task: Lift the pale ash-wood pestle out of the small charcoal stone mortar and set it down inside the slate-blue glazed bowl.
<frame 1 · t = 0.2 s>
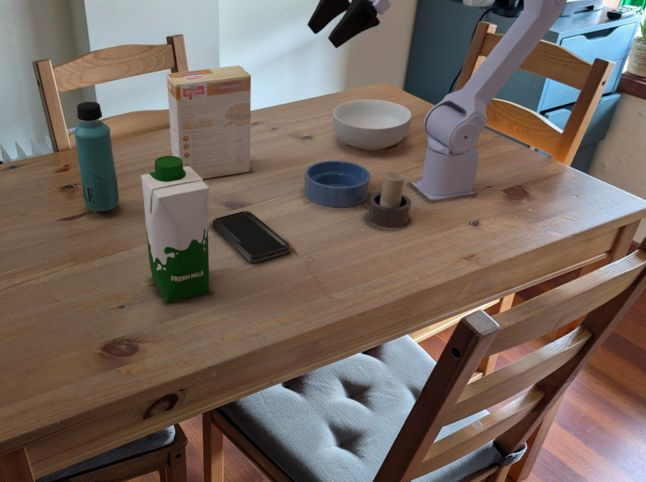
hand: (321, 36, 108), 31 cm above the table, tool tilted 45°, fingers open, 7 cm apart
beverage bottle: (103, 211, 129), on the table
coffeecake box: (210, 171, 142), on the table
mortar: (387, 220, 125), on the table
phone: (249, 239, 120), on the table
pestle: (387, 217, 124), point 1 cm above the table, touching mortar
cereal bowl: (368, 144, 152), on the table
bowl: (335, 195, 133), on the table
milk carton: (180, 287, 109), on the table
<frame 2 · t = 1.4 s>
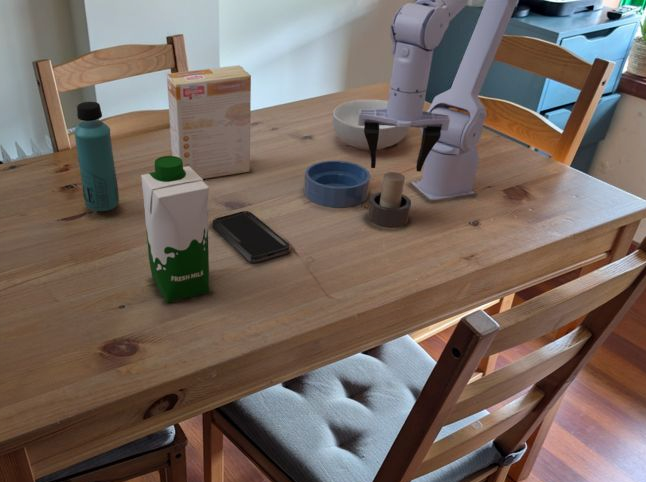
hand: (395, 167, 118), 10 cm above the table, tool pointing down, fingers open, 7 cm apart
nothing on the table moved.
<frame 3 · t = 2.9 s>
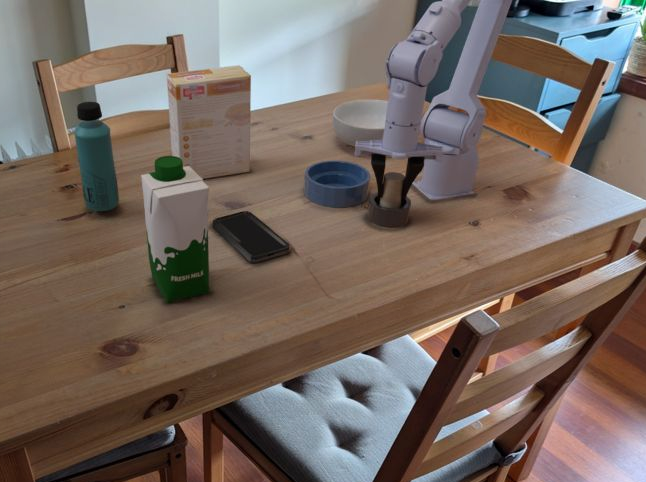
hand: (391, 195, 122), 5 cm above the table, tool pointing down, fingers closed on pestle, 3 cm apart
pestle: (387, 217, 124), point 1 cm above the table, touching gripper, mortar
everything else where it was.
when the fingers open (5 cm above the table, at t = 7.2 s): pestle stays where it is, resting on bowl.
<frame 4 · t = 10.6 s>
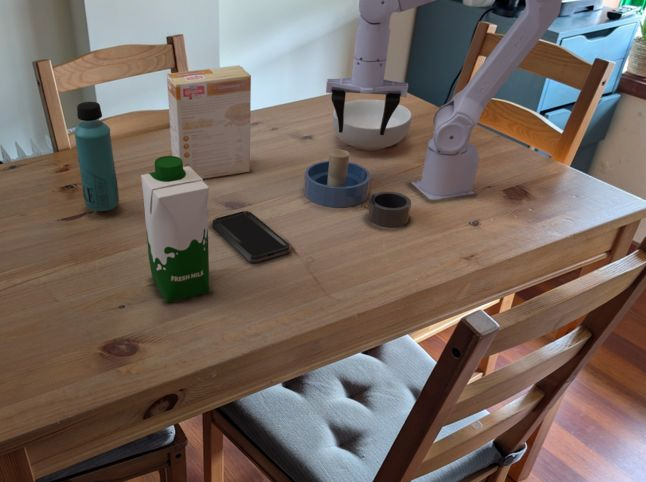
hand: (361, 132, 130), 10 cm above the table, tool pointing down, fingers open, 7 cm apart
pestle: (335, 192, 132), point 1 cm above the table, touching bowl
everything else where it was.
at the end: pestle inside the target area in the bowl (0.0 cm from its centre), point 0.6 cm above the bowl's base; the gripper is holding nothing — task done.
